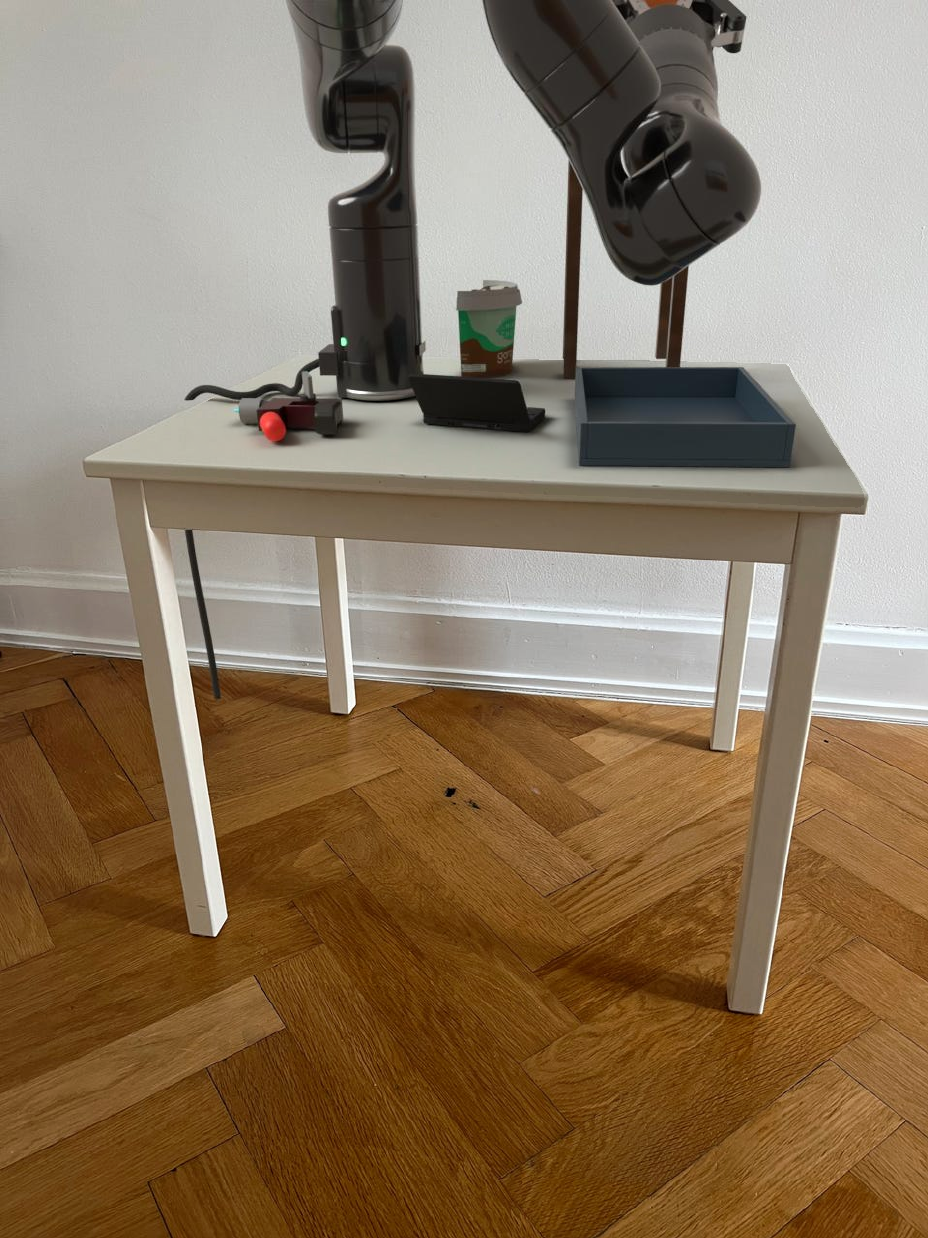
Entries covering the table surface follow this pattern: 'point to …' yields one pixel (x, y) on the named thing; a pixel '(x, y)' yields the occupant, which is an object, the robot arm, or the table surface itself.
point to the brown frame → (669, 299)
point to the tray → (678, 418)
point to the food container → (487, 328)
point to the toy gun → (292, 412)
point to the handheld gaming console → (474, 402)
